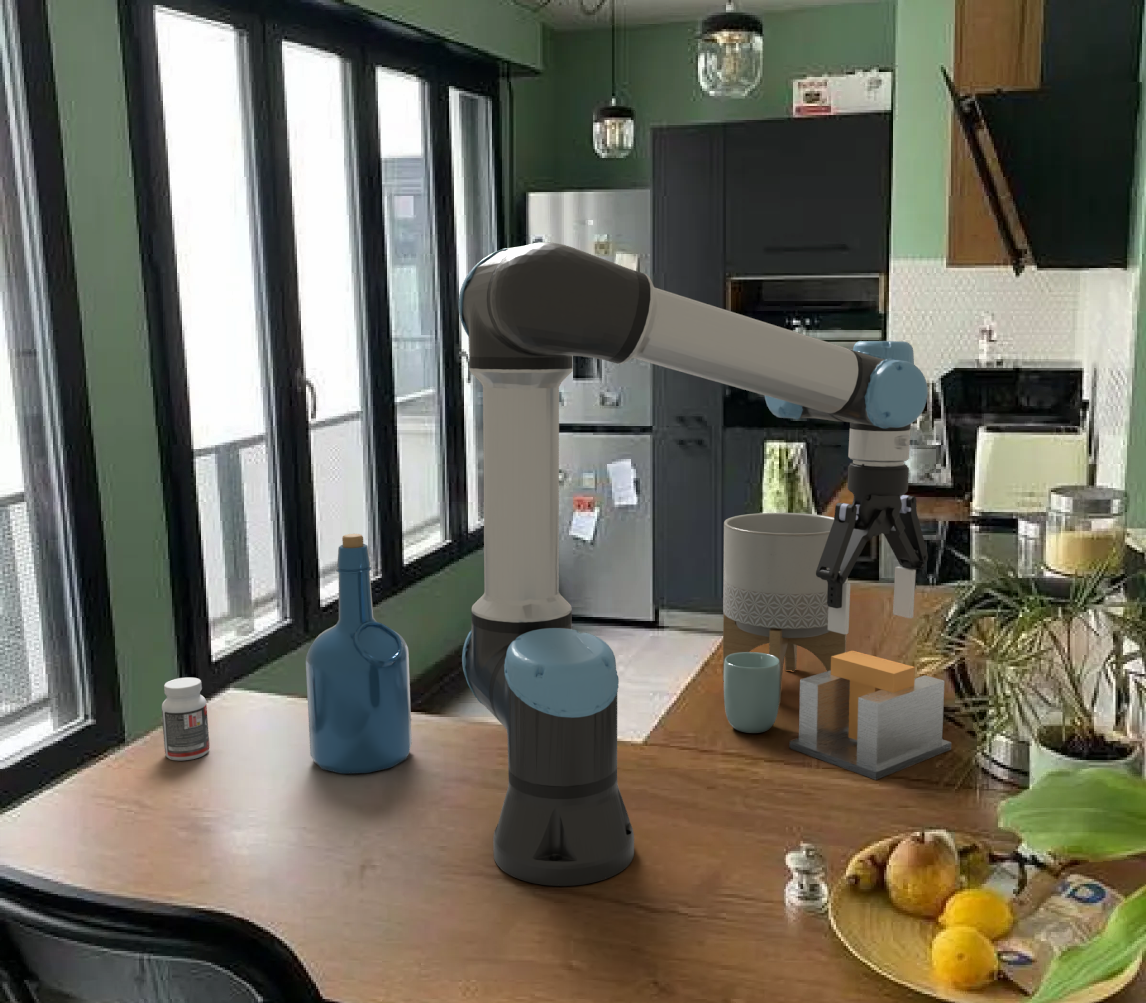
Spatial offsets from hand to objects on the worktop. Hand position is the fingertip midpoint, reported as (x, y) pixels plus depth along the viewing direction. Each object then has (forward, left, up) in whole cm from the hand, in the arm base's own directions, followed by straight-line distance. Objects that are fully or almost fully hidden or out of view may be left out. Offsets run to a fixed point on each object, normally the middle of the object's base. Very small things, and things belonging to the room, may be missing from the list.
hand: (871, 624), depth 148 cm
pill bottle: (-71, +57, -17) cm, 93 cm away
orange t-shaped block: (0, 0, -16) cm, 16 cm away
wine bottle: (-53, +40, -17) cm, 69 cm away
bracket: (0, 0, -17) cm, 17 cm away
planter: (+12, +25, -17) cm, 33 cm away
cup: (-6, +15, -17) cm, 24 cm away
